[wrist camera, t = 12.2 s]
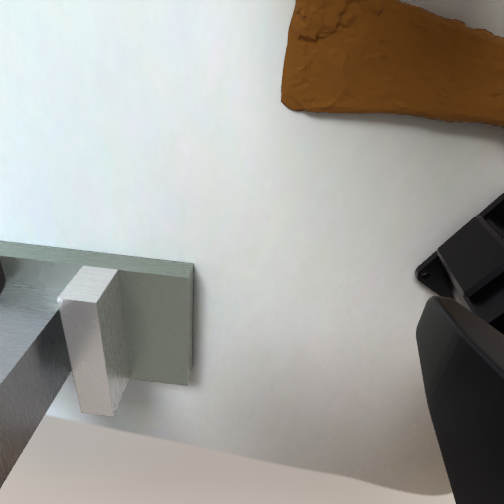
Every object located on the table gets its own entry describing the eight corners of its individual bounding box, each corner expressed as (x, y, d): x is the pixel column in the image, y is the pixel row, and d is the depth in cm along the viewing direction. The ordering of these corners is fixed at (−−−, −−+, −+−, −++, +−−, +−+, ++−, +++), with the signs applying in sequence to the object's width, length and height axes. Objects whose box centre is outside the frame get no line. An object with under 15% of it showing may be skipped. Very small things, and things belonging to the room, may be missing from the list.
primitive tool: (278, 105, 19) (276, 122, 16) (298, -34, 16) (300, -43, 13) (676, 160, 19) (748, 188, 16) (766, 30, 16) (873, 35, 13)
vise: (193, 263, 24) (174, 312, 20) (192, 368, 28) (176, 424, 25) (-93, 229, 24) (-165, 271, 20) (-48, 339, 29) (-100, 389, 25)
